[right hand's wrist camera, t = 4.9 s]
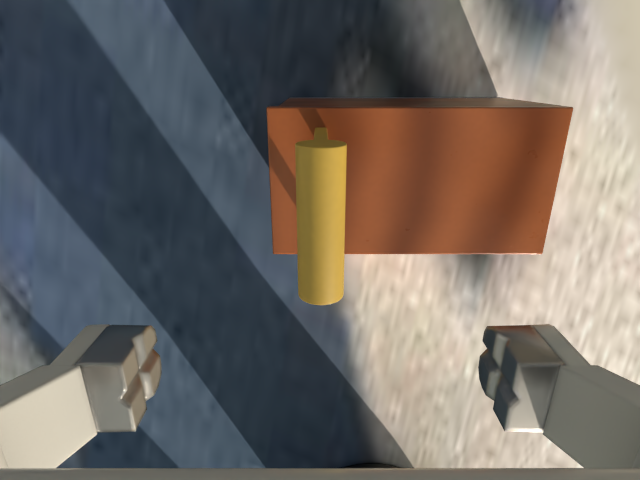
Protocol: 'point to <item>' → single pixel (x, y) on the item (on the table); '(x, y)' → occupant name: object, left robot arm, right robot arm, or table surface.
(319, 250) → the wooden door with handle
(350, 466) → the left robot arm
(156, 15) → the table surface
